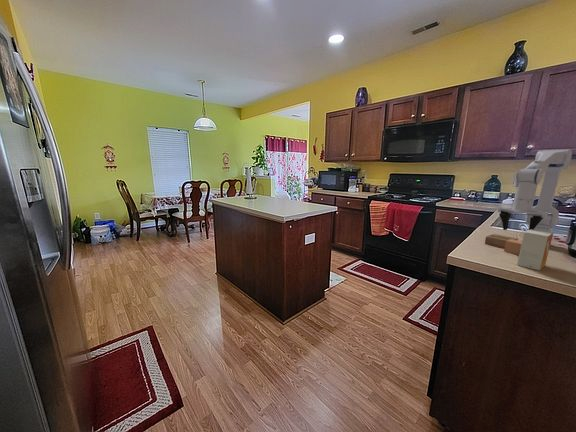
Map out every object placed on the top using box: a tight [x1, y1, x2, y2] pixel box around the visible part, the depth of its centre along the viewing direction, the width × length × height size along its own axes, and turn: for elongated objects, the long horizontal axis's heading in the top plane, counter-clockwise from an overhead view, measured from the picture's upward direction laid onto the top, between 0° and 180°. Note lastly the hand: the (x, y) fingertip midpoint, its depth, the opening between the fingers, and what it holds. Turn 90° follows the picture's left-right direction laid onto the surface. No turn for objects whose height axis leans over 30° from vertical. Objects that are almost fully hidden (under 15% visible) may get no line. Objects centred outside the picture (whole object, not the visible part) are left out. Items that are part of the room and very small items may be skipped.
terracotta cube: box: [503, 239, 522, 256], centre depth 103 cm, size 5×5×5 cm
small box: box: [516, 229, 554, 271], centre depth 88 cm, size 8×6×13 cm
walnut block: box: [484, 233, 519, 250], centre depth 112 cm, size 9×9×4 cm
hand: (516, 231), depth 98 cm, fingers open, 7 cm apart
